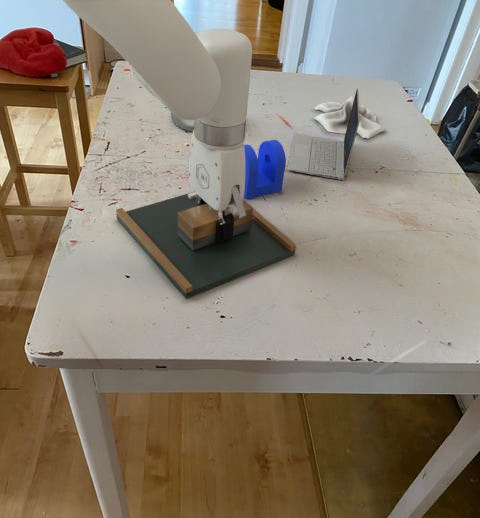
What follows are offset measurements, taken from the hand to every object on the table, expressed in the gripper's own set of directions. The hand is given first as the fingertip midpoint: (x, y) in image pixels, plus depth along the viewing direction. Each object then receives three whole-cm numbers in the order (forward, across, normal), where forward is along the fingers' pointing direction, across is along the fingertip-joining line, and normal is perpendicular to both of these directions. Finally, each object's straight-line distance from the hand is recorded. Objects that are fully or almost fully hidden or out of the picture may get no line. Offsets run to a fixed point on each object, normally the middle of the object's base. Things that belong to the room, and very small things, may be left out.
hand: (214, 230), depth 82 cm
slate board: (+2, -1, -1) cm, 3 cm away
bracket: (+2, -17, +18) cm, 24 cm away
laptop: (+2, -15, +38) cm, 41 cm away
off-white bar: (+1, -12, +4) cm, 13 cm away
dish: (+2, -42, +22) cm, 47 cm away
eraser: (0, 0, 0) cm, 0 cm away
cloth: (+3, -27, +60) cm, 65 cm away
